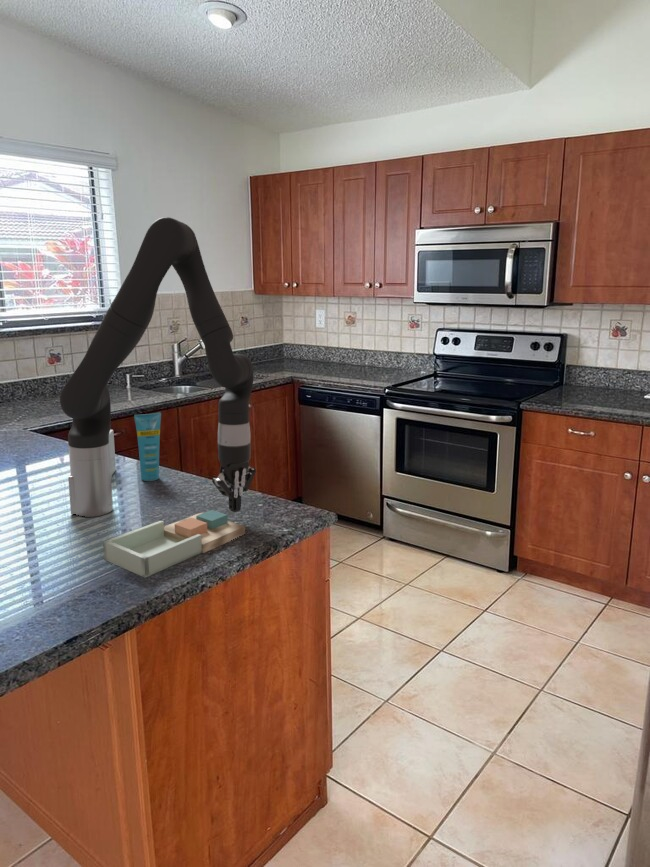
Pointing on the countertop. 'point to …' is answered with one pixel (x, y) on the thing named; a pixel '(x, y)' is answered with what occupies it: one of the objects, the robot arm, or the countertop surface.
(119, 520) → the countertop surface
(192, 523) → the terracotta tile
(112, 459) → the supplement box
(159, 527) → the box
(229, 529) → the maple plate
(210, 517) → the teal square block
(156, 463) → the tube
